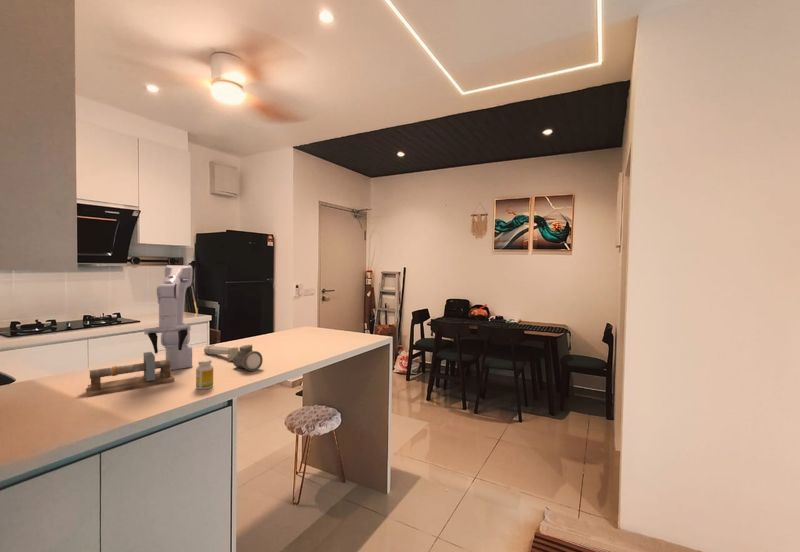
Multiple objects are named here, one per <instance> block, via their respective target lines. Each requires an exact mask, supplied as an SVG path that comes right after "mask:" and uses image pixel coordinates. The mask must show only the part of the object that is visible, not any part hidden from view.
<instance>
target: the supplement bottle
mask: <svg viewBox="0 0 800 552" xmlns="http://www.w3.org/2000/svg"><path fill="white" fill-rule="evenodd" d="M213 386H214V366H213V365H212V359H211V358H204V359H199V360H198V366H197V367H196V369H195V388H196V389H197V390H206V389H211V388H213Z"/></svg>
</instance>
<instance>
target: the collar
mask: <svg viewBox="0 0 800 552" xmlns="http://www.w3.org/2000/svg"><path fill="white" fill-rule="evenodd" d="M155 361H156V356H155V354H154V353H153V352H152V351H148V352H147V351H146V352H143V363H146V371H143V376H144V377H145V379H146V381H152V380H155V374H156V369H155Z"/></svg>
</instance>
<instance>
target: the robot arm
mask: <svg viewBox="0 0 800 552" xmlns="http://www.w3.org/2000/svg"><path fill="white" fill-rule="evenodd" d="M193 272H194V271H193V267H192V265H191V264H189V265H171V264H170V265H169V264H167V265H166V266H165V267H164V279H163V281H162V283H160V284H157V287H156V297H157V304H158V327H150V328H149V327H148V328H144V330H143V331H144V332H143V333H144V335H145V336H146V335H147V336H148V338H149V340H150V341H151V344H152V347H153V351H154V354H159V353H158V351H159V350H158V338H159V337H158V334H160V344H161V346H162V347H164V348H165V360H169V359H170V362H171V366H170V371H173V370H180V369H187V368H192V367H193V347H192V345H191V344H190V341H191V336H190V335H191V332H190V331H191V324H186V323H184V314H185V313H184V312H185V302H186V301H185V300H186V299H185V298H186V293H187V292H186V291H187V289H188V288H189V287H191V286H192V283H193Z"/></svg>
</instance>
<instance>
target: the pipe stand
mask: <svg viewBox="0 0 800 552" xmlns="http://www.w3.org/2000/svg"><path fill="white" fill-rule="evenodd" d="M170 366H171V362H170V359H169V360H166V359H163V360H155V370H158V369H160V372H159V373H155V380H152V381H146V379H145V377H144V375H143V376H141V375H140V376H137V377H135V376H134V377H130V378H124V379H123V378H122V379H116V380H112V381H111V380H110V381H104V382H101V381H102V380H101V378H104V377H115V376H118V375H126V374H133V373H138V372H144V371H146V363H144V362H143V363H134V364H125V365H119V366H116V365H115V366H110V367H106V368H100V369H99V368H98V369H92V370H89V380H90V384H87V397H95V396H100V395H105V394H111V393H115V392H116V393H117V392H122V391H123V392H124V391H128V390H134V389H140V388H145V387H146V388H147V387H150V386H151V387H153V386H156V385H157V386H158V385H163V384H167V383H174V382H175V378H174V376H172V374H171V370H170Z"/></svg>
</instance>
